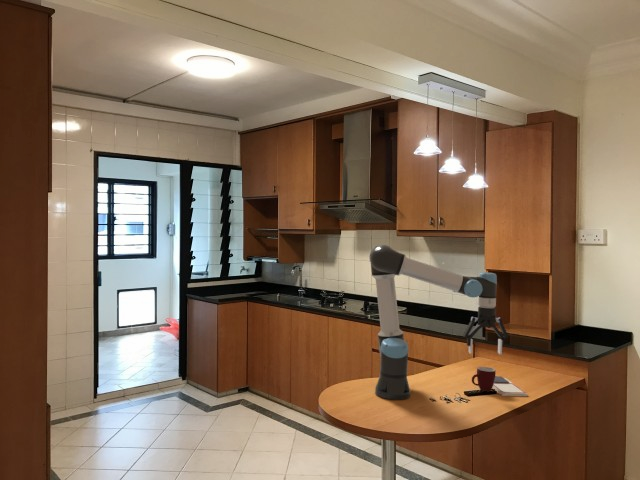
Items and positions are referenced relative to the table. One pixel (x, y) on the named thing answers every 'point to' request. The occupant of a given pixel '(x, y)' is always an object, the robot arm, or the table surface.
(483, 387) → the mug
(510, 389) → the board
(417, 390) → the table surface
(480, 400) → the table surface
